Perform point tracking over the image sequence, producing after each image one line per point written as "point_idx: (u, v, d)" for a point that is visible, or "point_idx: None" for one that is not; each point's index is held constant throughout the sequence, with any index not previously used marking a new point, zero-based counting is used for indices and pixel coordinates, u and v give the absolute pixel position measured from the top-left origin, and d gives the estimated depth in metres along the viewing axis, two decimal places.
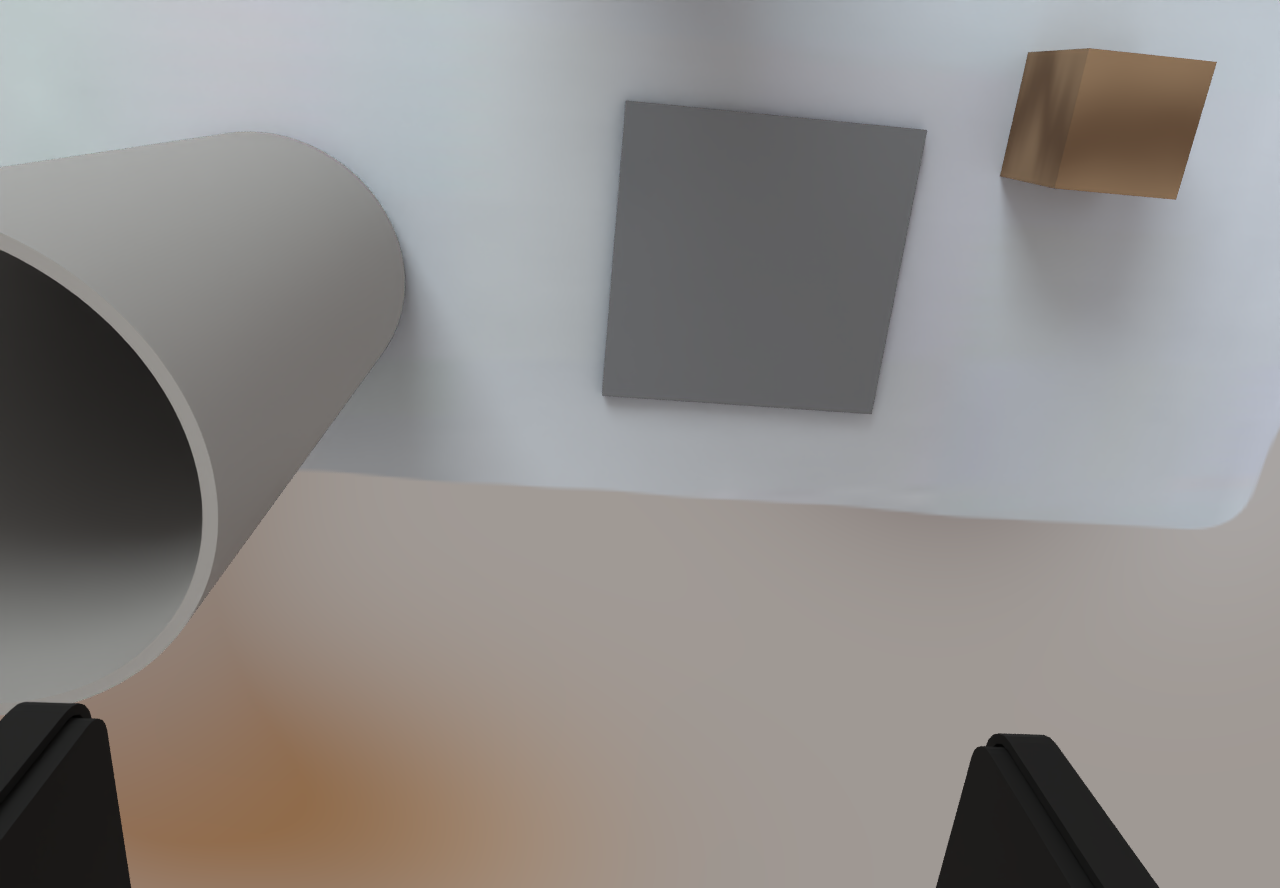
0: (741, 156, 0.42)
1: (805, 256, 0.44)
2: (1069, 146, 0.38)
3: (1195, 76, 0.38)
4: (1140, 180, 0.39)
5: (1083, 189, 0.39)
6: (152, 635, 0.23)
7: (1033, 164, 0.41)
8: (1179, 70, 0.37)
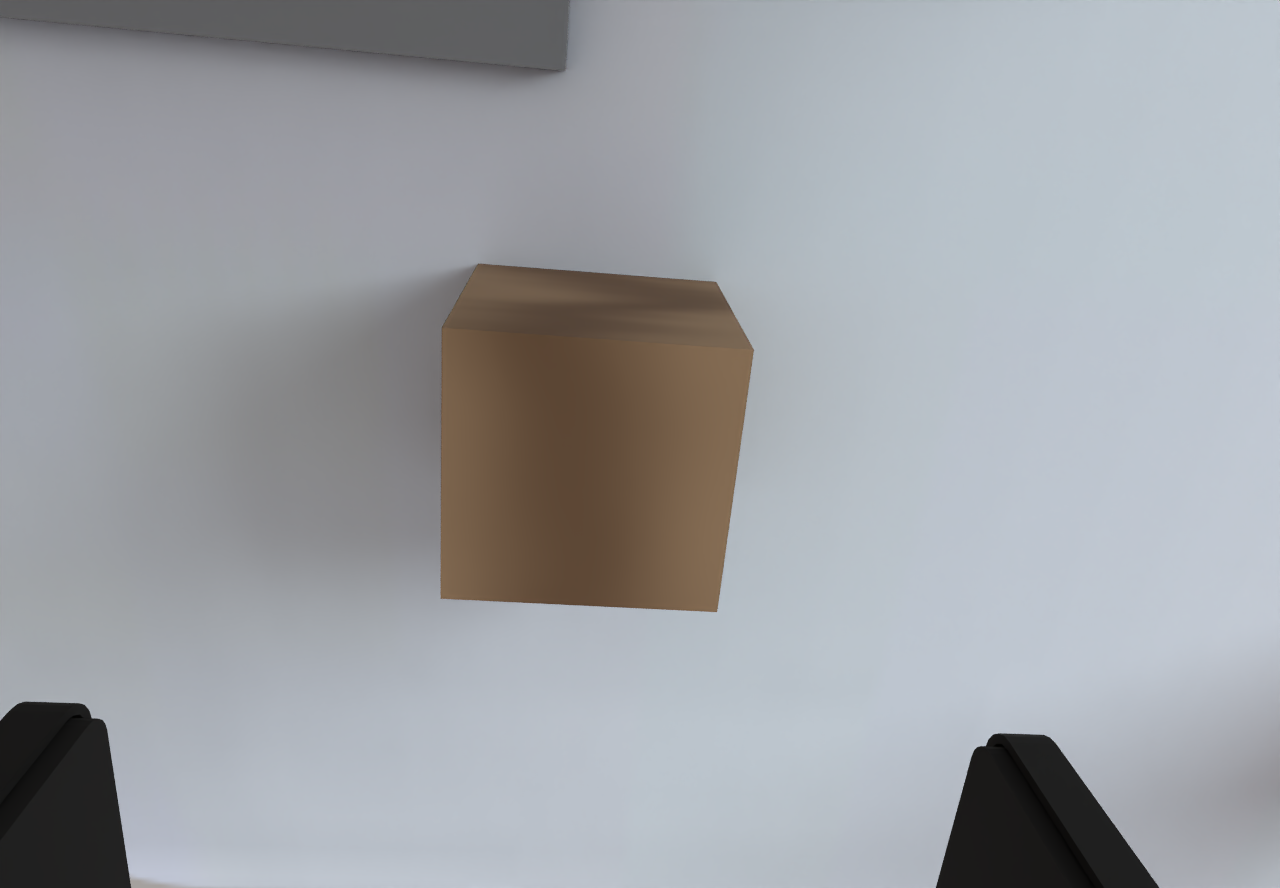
0: None
1: None
2: (540, 346, 0.16)
3: (691, 579, 0.18)
4: (475, 517, 0.17)
5: (445, 397, 0.16)
6: None
7: (500, 299, 0.18)
8: (703, 545, 0.18)
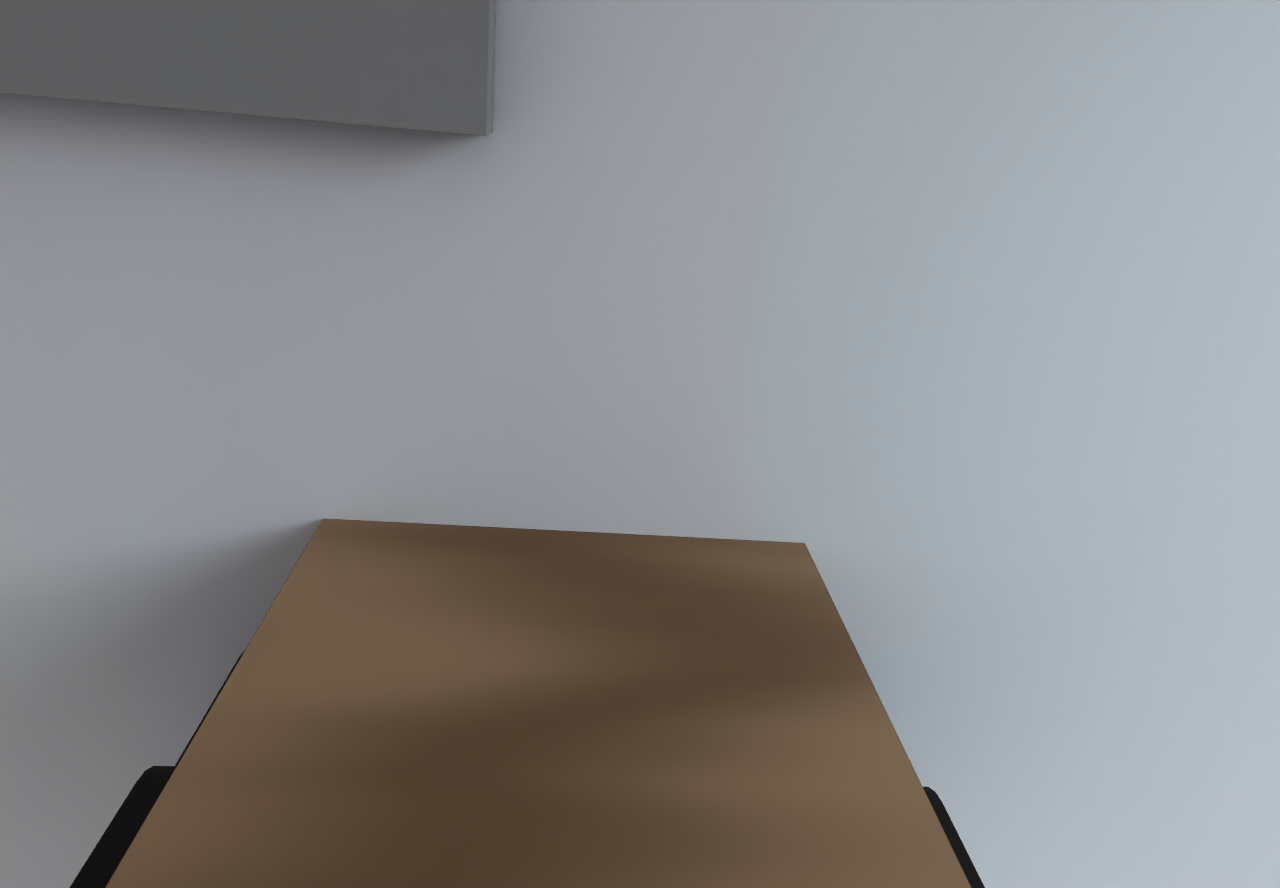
0: None
1: None
2: None
3: None
4: None
5: None
6: None
7: (320, 698, 0.07)
8: None
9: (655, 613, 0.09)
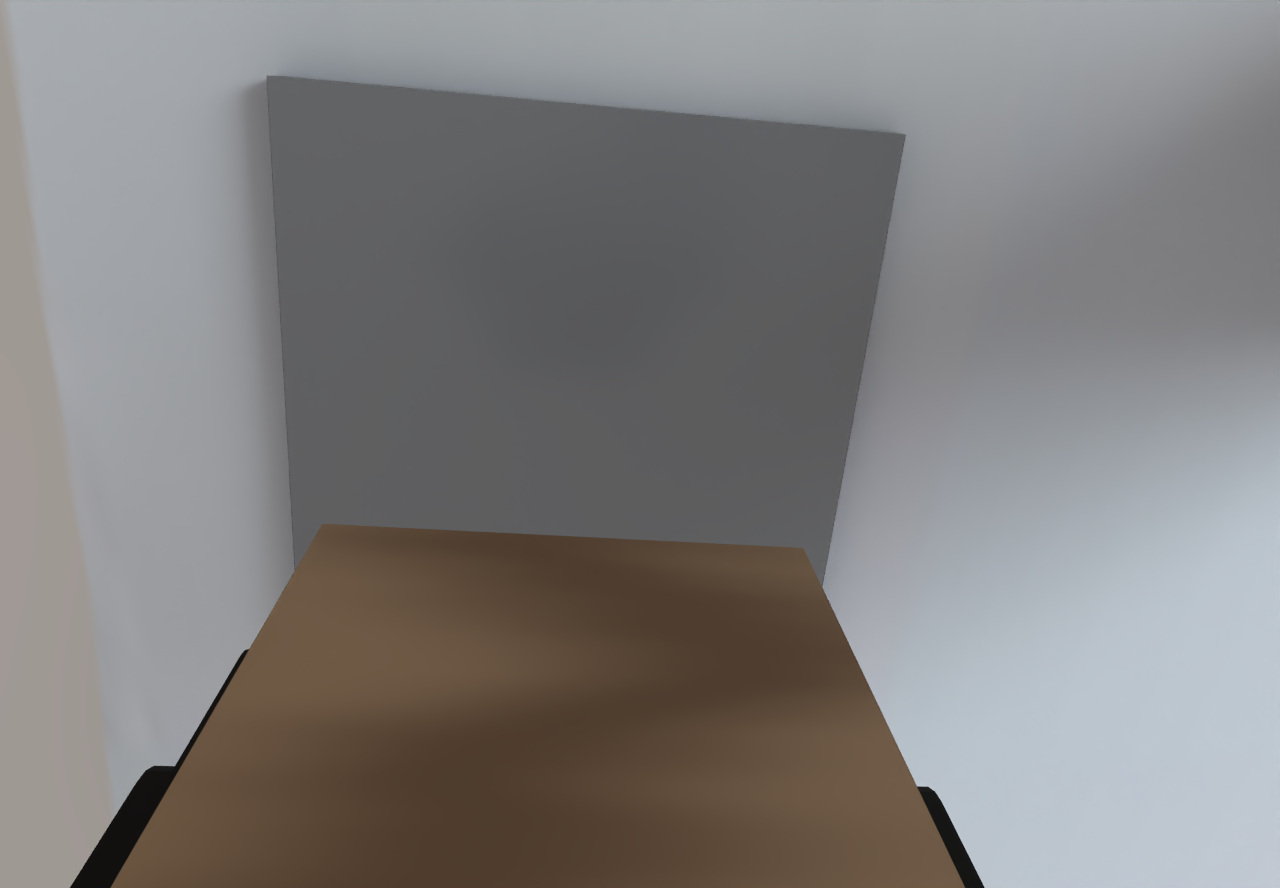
0: (786, 363, 0.22)
1: (600, 490, 0.23)
2: None
3: None
4: None
5: None
6: None
7: (319, 704, 0.07)
8: None
9: (654, 619, 0.09)
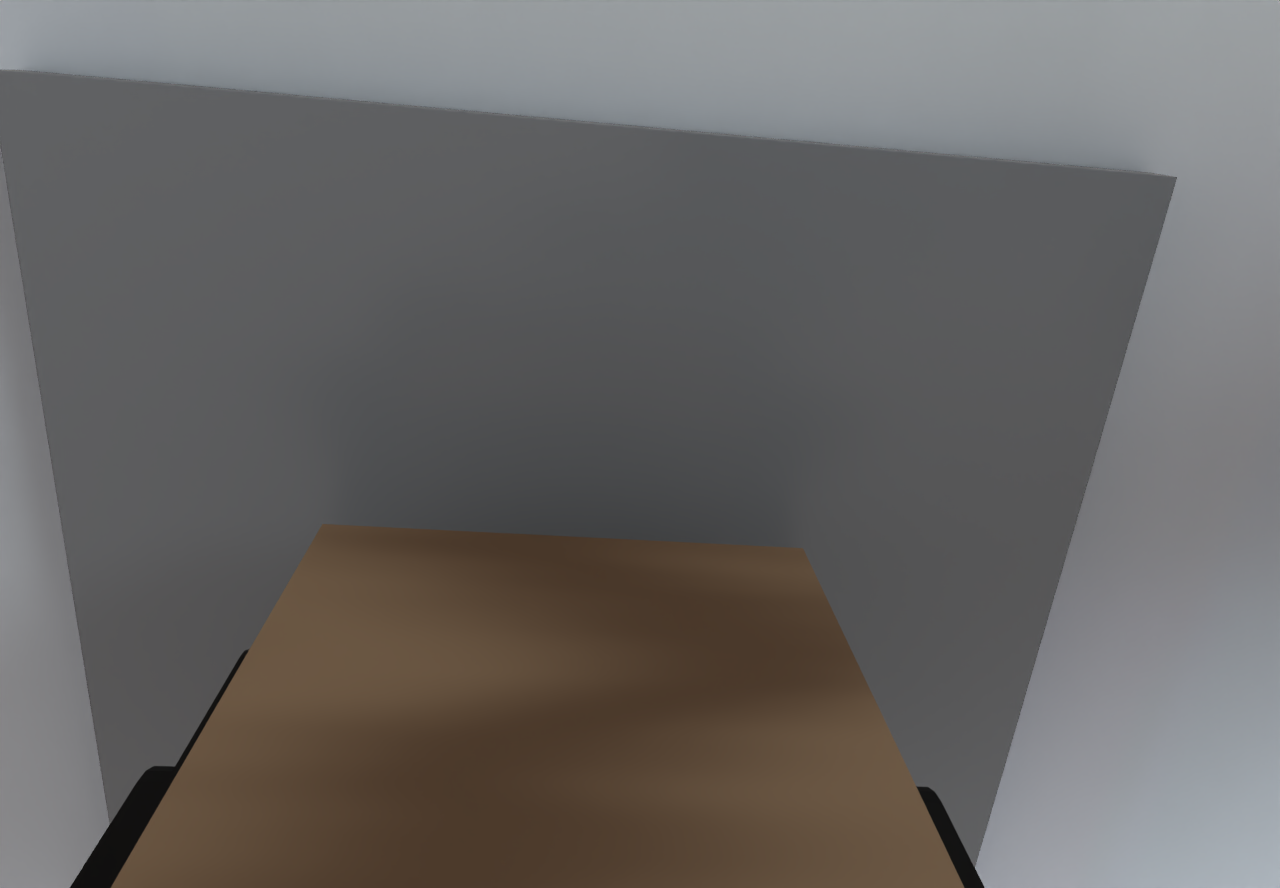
0: (935, 561, 0.13)
1: None
2: None
3: None
4: None
5: None
6: None
7: (319, 705, 0.07)
8: None
9: (654, 619, 0.09)
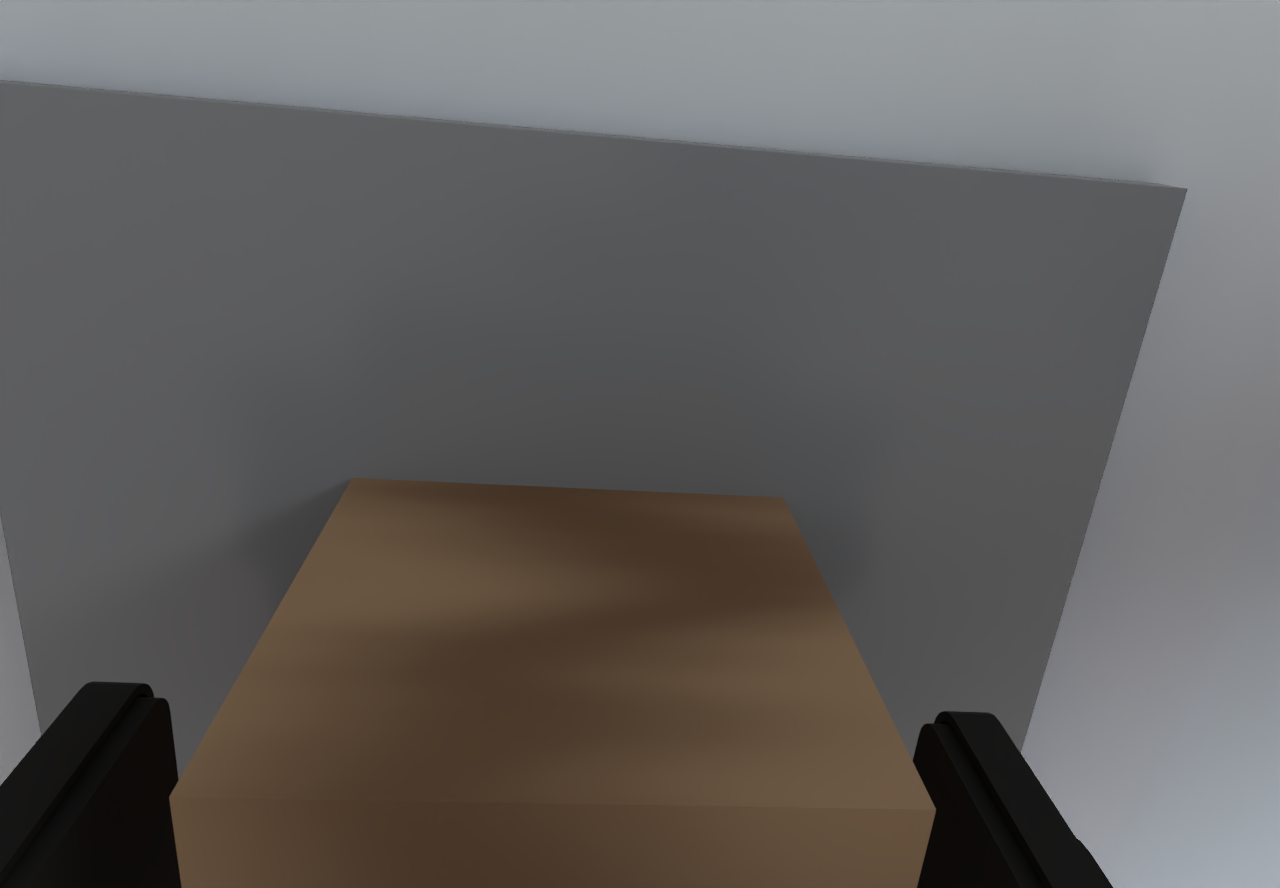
0: (934, 590, 0.13)
1: None
2: (419, 823, 0.07)
3: None
4: None
5: None
6: None
7: (359, 617, 0.09)
8: None
9: (648, 553, 0.10)
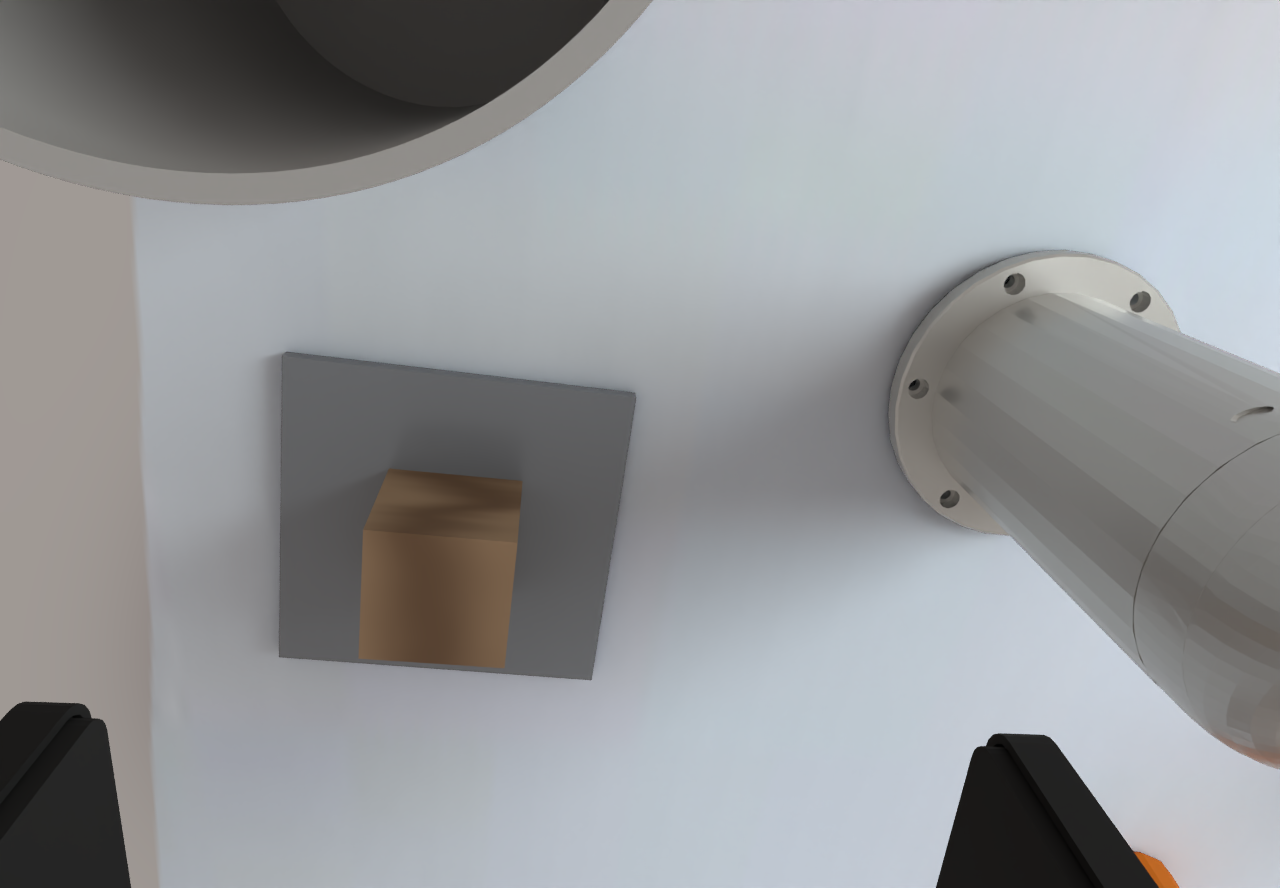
0: (573, 513, 0.39)
1: None
2: (411, 538, 0.33)
3: (489, 651, 0.35)
4: (377, 618, 0.34)
5: (363, 561, 0.33)
6: None
7: (395, 503, 0.35)
8: (496, 634, 0.35)
9: (473, 493, 0.37)
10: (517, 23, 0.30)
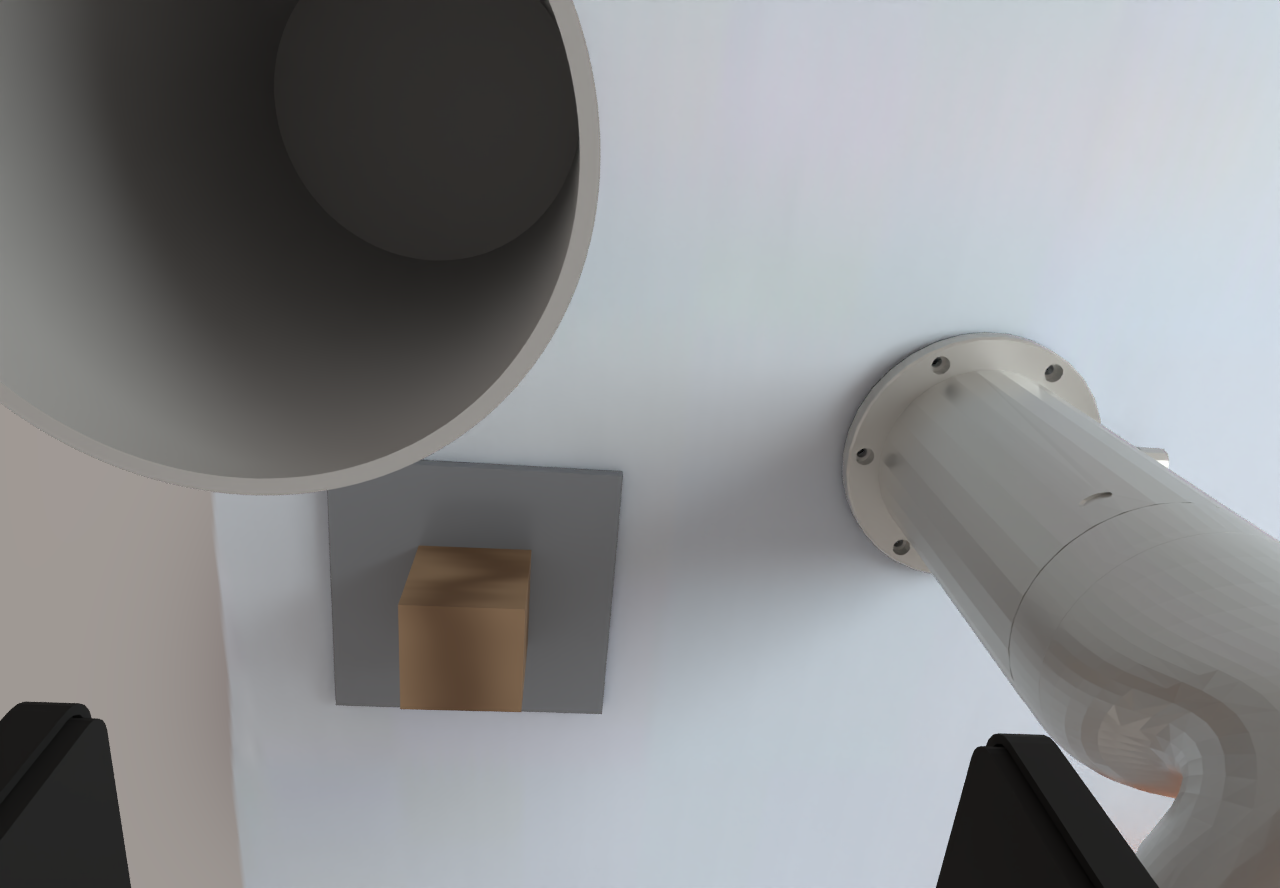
0: (576, 574, 0.46)
1: None
2: (438, 610, 0.40)
3: (508, 698, 0.42)
4: (414, 676, 0.41)
5: (400, 630, 0.40)
6: (11, 352, 0.17)
7: (424, 578, 0.42)
8: (512, 684, 0.42)
9: (489, 565, 0.44)
10: (500, 192, 0.37)
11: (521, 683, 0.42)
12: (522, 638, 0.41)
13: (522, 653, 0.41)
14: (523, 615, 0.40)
